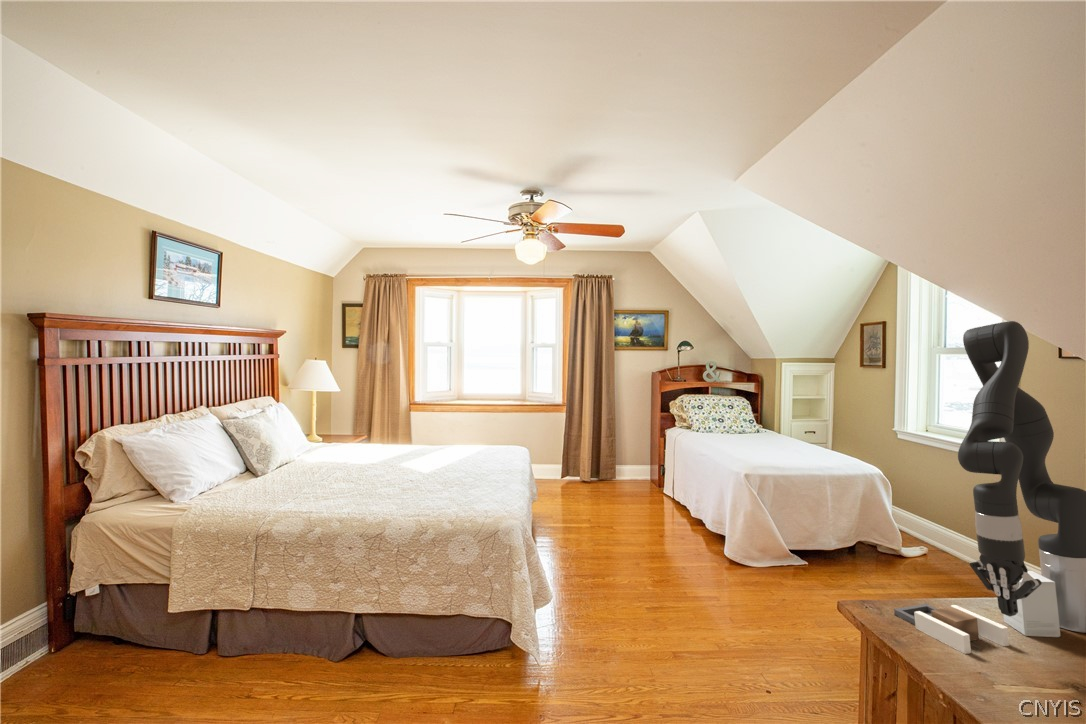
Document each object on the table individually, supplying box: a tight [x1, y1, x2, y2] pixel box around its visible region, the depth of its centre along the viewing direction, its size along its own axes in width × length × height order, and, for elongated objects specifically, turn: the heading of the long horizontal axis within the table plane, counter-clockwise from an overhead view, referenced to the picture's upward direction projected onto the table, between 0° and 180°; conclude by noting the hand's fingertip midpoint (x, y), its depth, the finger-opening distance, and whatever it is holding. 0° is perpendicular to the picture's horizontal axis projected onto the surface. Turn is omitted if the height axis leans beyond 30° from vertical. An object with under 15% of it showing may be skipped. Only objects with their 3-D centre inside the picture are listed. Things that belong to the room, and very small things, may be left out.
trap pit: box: [893, 603, 938, 626], centre depth 128 cm, size 10×6×2 cm, turn 101°
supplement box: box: [1002, 570, 1061, 638], centre depth 120 cm, size 7×7×13 cm
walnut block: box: [931, 606, 980, 642], centre depth 119 cm, size 6×6×5 cm
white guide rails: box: [914, 604, 1010, 655], centre depth 118 cm, size 12×12×4 cm
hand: (1008, 614), depth 108 cm, fingers closed
